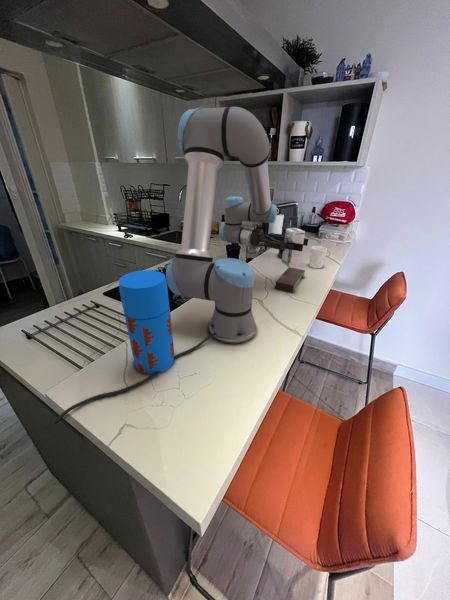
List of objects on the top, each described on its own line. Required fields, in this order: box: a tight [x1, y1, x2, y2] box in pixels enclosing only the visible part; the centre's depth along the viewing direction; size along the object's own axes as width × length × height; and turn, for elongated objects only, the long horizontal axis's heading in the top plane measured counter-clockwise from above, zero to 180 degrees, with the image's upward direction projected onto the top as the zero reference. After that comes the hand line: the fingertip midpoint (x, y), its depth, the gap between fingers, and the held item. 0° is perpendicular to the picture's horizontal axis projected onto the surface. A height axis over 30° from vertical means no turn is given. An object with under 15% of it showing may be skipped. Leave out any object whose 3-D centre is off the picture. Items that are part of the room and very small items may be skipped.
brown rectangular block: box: [274, 267, 306, 294], centre depth 118 cm, size 20×8×4 cm, turn 151°
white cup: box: [309, 245, 328, 269], centre depth 136 cm, size 8×8×10 cm
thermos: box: [118, 269, 175, 375], centre depth 66 cm, size 11×11×25 cm
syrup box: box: [281, 227, 306, 268], centre depth 105 cm, size 6×6×14 cm
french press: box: [277, 215, 298, 259], centre depth 146 cm, size 12×9×23 cm
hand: (305, 245), depth 102 cm, fingers closed on syrup box, 8 cm apart
